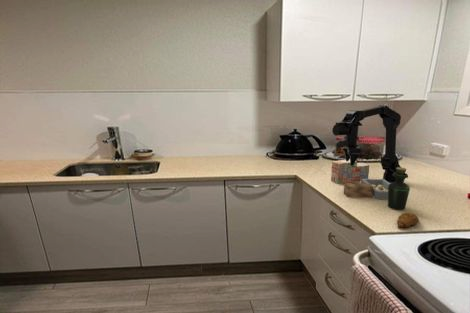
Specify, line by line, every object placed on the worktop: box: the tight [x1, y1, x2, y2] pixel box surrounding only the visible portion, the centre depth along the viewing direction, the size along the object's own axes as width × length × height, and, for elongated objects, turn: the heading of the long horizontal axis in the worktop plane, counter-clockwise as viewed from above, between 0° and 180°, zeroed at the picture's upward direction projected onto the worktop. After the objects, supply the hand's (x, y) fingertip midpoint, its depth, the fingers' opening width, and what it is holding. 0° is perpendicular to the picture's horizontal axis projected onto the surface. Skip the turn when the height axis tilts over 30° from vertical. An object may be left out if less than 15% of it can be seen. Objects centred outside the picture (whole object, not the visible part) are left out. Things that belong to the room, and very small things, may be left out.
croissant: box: [396, 212, 420, 230], centre depth 99 cm, size 14×7×5 cm, turn 125°
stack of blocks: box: [330, 159, 370, 185], centre depth 152 cm, size 21×6×12 cm, turn 106°
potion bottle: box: [387, 166, 411, 211], centre depth 113 cm, size 8×8×18 cm
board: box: [343, 182, 373, 198], centre depth 129 cm, size 12×5×6 cm, turn 85°
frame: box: [360, 178, 390, 200], centre depth 134 cm, size 12×21×4 cm, turn 173°
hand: (349, 163), depth 139 cm, fingers open, 9 cm apart
